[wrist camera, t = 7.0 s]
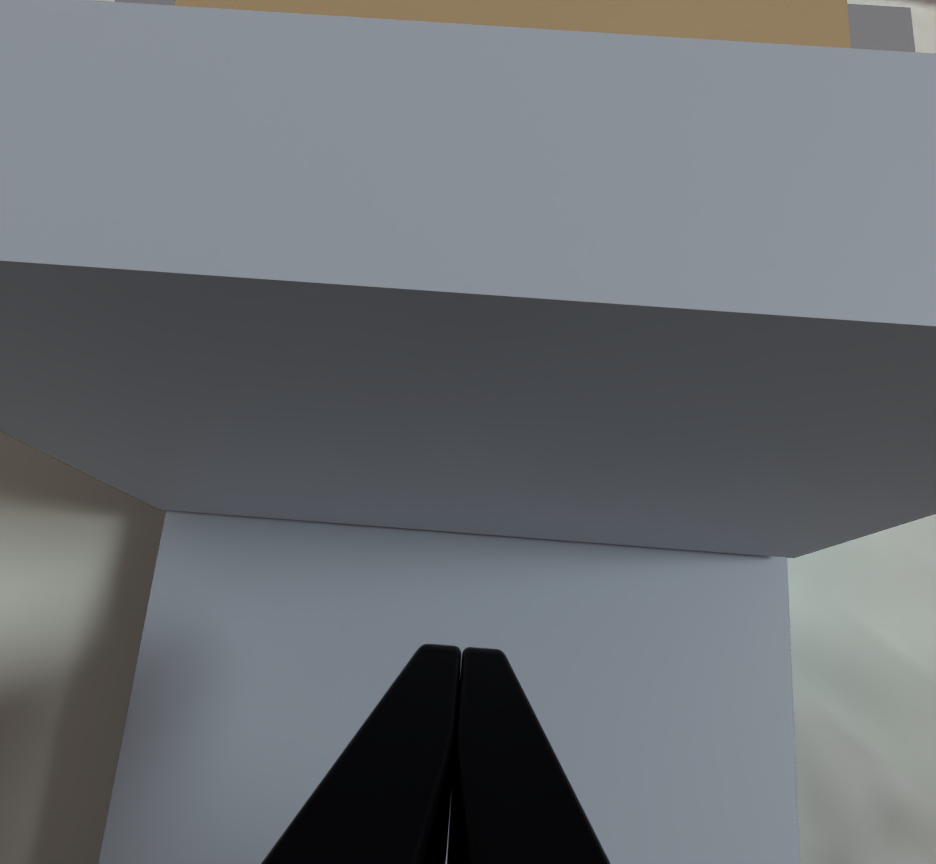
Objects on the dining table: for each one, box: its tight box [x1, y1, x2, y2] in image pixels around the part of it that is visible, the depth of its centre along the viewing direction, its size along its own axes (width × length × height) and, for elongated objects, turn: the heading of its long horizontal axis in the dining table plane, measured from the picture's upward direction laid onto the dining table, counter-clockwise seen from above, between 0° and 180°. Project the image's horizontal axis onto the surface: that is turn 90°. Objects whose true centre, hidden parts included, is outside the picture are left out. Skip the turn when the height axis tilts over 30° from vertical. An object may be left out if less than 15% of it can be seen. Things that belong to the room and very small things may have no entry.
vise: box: [98, 0, 915, 864], centre depth 11 cm, size 19×11×6 cm, turn 176°
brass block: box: [174, 0, 851, 48], centre depth 11 cm, size 3×6×8 cm, turn 86°
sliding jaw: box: [0, 0, 936, 558], centre depth 9 cm, size 2×11×9 cm, turn 86°
